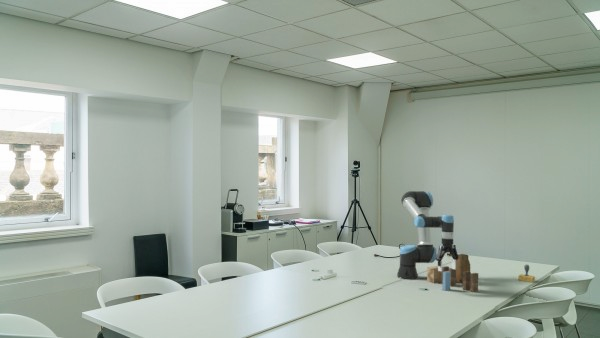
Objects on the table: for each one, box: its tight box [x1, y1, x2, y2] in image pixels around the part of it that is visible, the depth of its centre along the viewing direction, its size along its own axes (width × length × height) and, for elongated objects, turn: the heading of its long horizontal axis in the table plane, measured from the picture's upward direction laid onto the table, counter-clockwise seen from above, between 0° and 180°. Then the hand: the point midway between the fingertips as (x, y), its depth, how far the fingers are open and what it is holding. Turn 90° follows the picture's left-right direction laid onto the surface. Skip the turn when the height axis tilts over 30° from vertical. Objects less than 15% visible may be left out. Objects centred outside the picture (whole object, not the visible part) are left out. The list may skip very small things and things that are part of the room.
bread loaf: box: [456, 253, 471, 284], centre depth 330 cm, size 11×8×20 cm
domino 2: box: [442, 271, 451, 291], centre depth 307 cm, size 2×5×12 cm, turn 122°
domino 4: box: [462, 270, 471, 291], centre depth 309 cm, size 2×5×12 cm, turn 122°
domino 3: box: [449, 267, 457, 287], centre depth 319 cm, size 2×5×12 cm, turn 122°
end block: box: [426, 265, 442, 284], centre depth 331 cm, size 6×12×10 cm, turn 122°
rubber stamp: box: [517, 264, 536, 283], centre depth 340 cm, size 10×6×12 cm, turn 52°
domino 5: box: [469, 272, 479, 293], centre depth 304 cm, size 2×5×12 cm, turn 122°
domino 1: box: [441, 265, 450, 285], centre depth 324 cm, size 2×5×12 cm, turn 122°
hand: (447, 270), depth 307 cm, fingers open, 13 cm apart
